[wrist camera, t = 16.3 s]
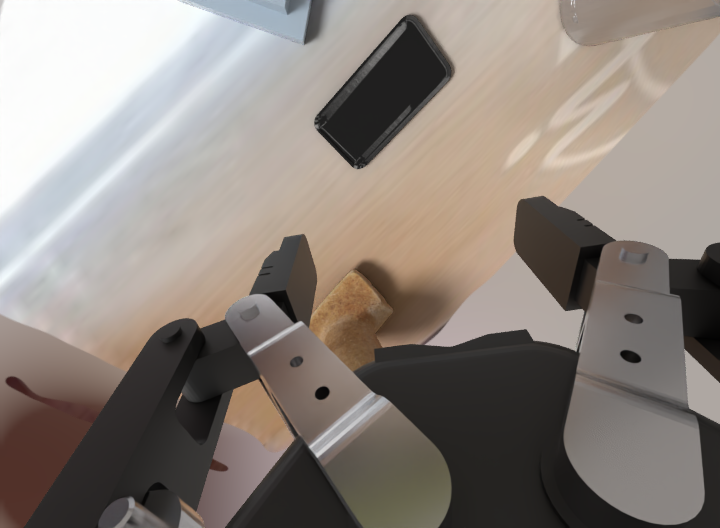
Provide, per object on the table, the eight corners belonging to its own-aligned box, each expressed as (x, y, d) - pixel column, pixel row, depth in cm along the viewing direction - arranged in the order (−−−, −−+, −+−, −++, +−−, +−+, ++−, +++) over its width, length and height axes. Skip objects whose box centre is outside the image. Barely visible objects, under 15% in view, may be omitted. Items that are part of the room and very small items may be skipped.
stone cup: (349, 365, 53) (358, 453, 39) (289, 332, 49) (276, 417, 35) (411, 303, 49) (445, 378, 35) (351, 261, 44) (364, 327, 31)
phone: (310, 123, 35) (410, 8, 32) (310, 122, 36) (407, 11, 33) (359, 173, 38) (456, 74, 35) (358, 172, 39) (452, 75, 36)
